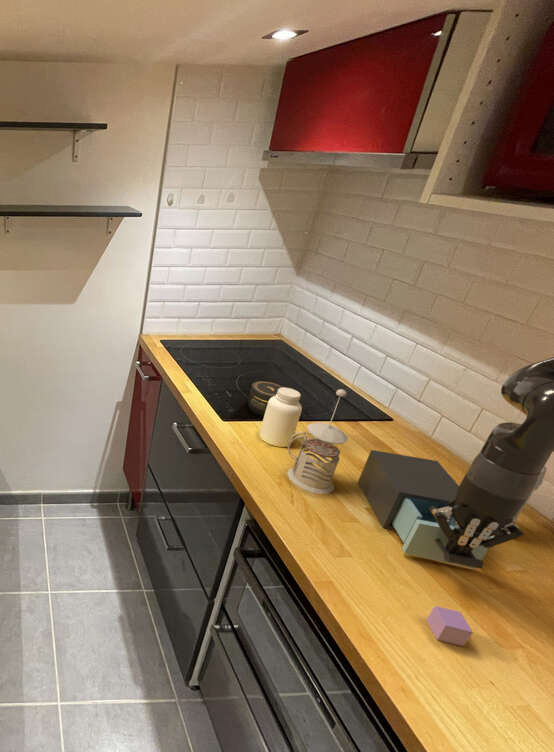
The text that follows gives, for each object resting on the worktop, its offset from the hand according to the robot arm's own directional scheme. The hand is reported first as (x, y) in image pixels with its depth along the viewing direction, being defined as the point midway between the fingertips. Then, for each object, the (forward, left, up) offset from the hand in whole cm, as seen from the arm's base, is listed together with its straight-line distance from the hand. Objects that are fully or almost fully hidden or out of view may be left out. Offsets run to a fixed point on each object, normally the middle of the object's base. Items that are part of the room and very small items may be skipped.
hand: (454, 556), depth 82 cm
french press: (+18, -22, -5) cm, 29 cm away
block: (+6, +14, -5) cm, 16 cm away
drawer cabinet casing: (0, -17, -5) cm, 18 cm away
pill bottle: (+22, -38, -5) cm, 44 cm away
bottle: (-16, -18, -5) cm, 25 cm away
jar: (+22, -54, -5) cm, 59 cm away
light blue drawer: (0, -7, -4) cm, 8 cm away
